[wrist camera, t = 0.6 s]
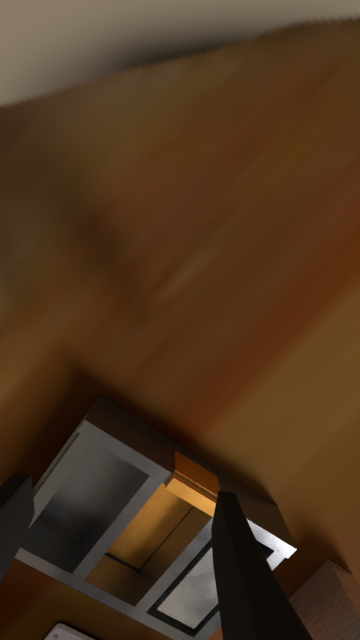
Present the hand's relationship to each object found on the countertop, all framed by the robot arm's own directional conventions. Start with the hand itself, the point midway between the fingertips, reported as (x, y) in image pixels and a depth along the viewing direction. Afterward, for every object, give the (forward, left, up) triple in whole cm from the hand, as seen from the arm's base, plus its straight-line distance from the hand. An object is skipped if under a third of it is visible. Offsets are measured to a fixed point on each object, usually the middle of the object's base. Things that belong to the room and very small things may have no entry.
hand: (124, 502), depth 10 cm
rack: (-9, -6, -10) cm, 15 cm away
